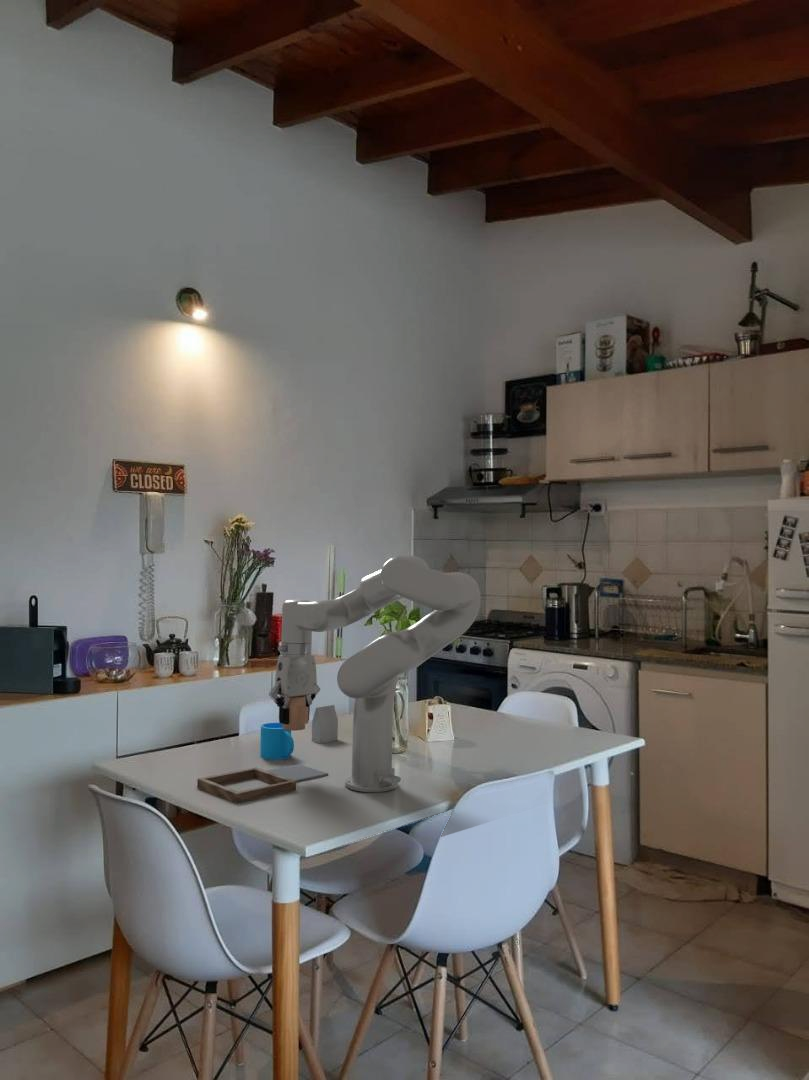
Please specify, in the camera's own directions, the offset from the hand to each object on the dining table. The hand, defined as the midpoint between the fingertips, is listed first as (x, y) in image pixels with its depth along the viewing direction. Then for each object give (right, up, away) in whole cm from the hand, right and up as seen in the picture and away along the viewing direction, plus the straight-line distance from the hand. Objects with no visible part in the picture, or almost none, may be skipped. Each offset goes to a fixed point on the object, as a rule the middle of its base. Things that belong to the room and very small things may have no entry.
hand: (294, 721), depth 222 cm
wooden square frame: (-9, -13, -13) cm, 21 cm away
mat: (0, -13, 0) cm, 13 cm away
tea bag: (+4, -14, +39) cm, 41 cm away
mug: (-6, -13, +18) cm, 23 cm away
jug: (+1, -2, -1) cm, 2 cm away
